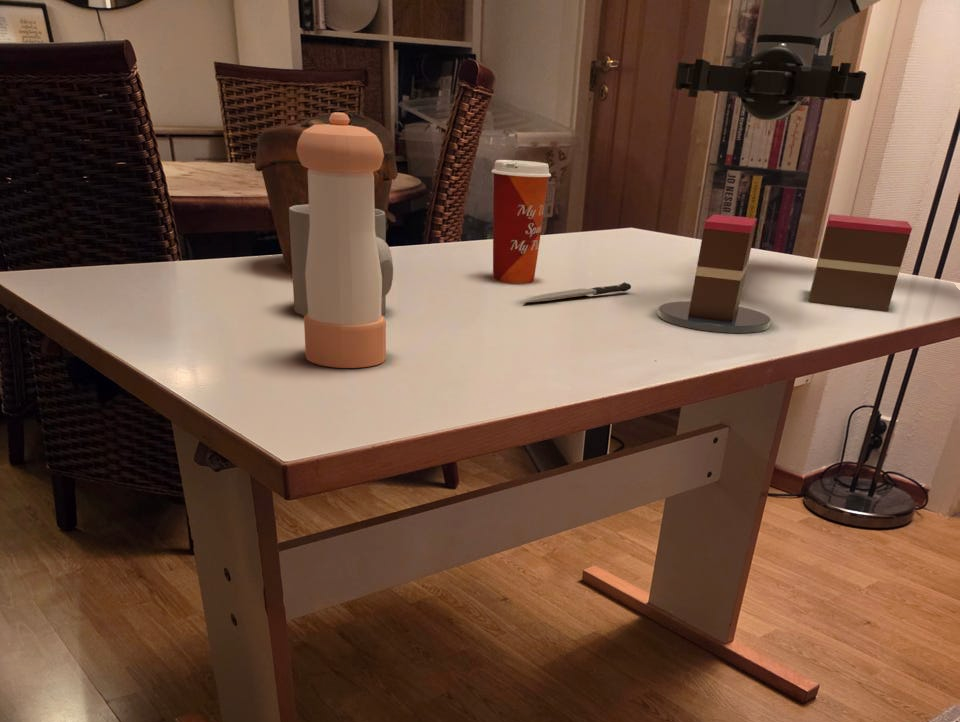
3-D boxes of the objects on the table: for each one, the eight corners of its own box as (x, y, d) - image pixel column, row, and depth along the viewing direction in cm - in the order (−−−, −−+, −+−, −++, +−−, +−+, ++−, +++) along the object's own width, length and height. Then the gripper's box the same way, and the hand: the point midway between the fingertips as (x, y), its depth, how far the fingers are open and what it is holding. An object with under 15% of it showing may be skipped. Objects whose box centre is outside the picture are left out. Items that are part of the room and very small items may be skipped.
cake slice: (738, 309, 104) (757, 218, 99) (732, 322, 98) (752, 225, 92) (696, 304, 106) (713, 214, 100) (688, 316, 99) (705, 220, 94)
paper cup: (525, 287, 113) (535, 165, 105) (475, 278, 116) (481, 160, 108) (551, 279, 119) (562, 163, 111) (502, 271, 122) (509, 158, 114)
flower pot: (283, 285, 105) (272, 113, 95) (248, 257, 120) (236, 105, 110) (419, 282, 112) (422, 121, 102) (370, 255, 127) (369, 113, 117)
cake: (884, 300, 119) (908, 221, 114) (887, 311, 113) (912, 227, 108) (809, 292, 122) (829, 214, 117) (808, 301, 116) (829, 219, 110)
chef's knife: (507, 301, 105) (523, 304, 103) (507, 291, 104) (523, 294, 102) (616, 289, 115) (632, 291, 113) (616, 279, 115) (633, 282, 113)
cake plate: (772, 316, 106) (773, 309, 105) (765, 338, 95) (767, 331, 95) (666, 303, 109) (667, 296, 109) (649, 323, 98) (650, 316, 98)
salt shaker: (291, 352, 79) (276, 108, 69) (359, 344, 83) (355, 111, 73) (330, 372, 74) (321, 113, 64) (401, 362, 78) (402, 116, 68)
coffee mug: (280, 303, 96) (274, 204, 91) (362, 299, 101) (360, 203, 95) (329, 331, 87) (325, 222, 81) (416, 324, 91) (418, 220, 86)
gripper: (677, 42, 107) (649, 28, 90) (889, 52, 101) (902, 39, 84) (667, 113, 111) (638, 112, 94) (870, 126, 105) (879, 128, 88)
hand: (763, 78), depth 89 cm, fingers open, 13 cm apart
